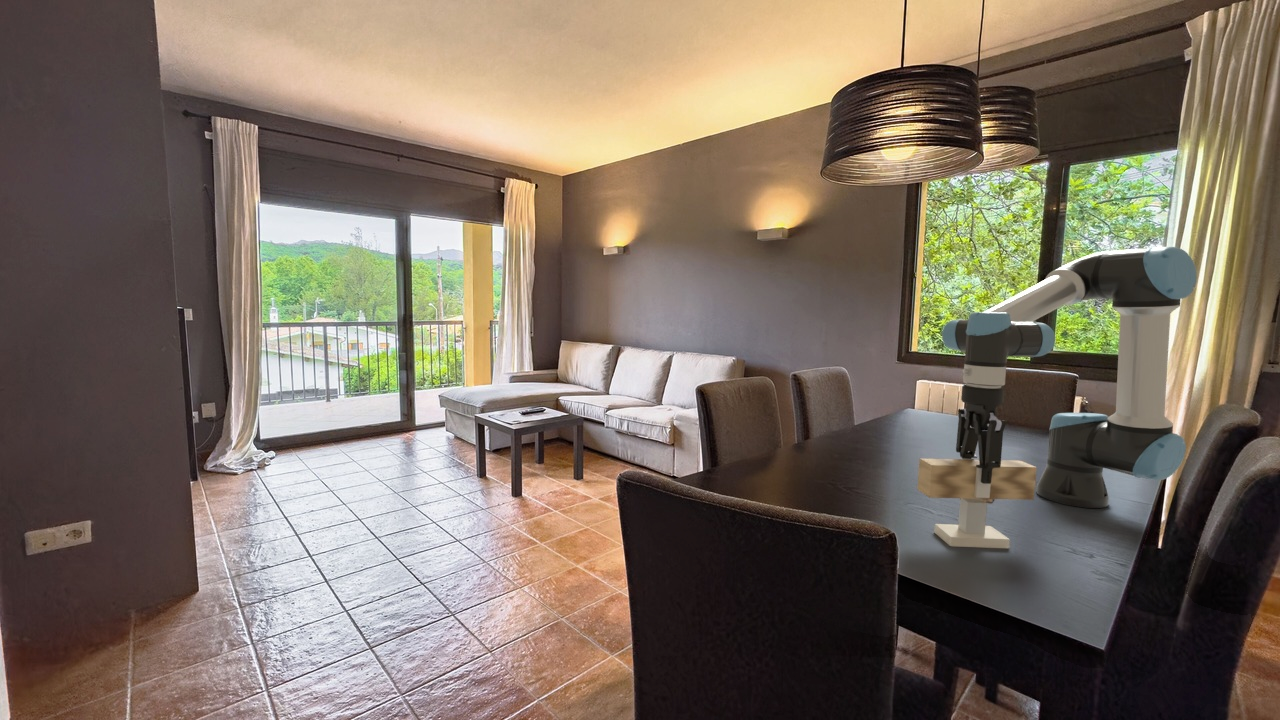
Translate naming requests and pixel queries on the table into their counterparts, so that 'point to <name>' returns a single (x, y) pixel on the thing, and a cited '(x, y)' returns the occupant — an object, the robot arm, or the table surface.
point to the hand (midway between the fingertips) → (974, 492)
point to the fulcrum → (972, 528)
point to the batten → (961, 475)
